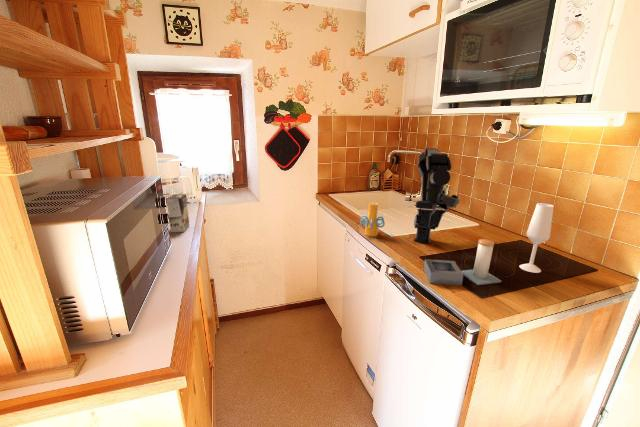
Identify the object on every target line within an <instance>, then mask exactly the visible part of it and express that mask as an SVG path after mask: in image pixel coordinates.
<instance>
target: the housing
mask: <svg viewBox="0 0 640 427" xmlns="http://www.w3.org/2000/svg"><path fill="white" fill-rule="evenodd" d="M423 270H424V274H425V275H426V278H427V281H428V283H429V284H435V285H445V286H446V285H447V286H459V287H462V285H463V279H464V275H463V273H462V272H461V271H462V270H461V269H460V267H459V265H457V262H456V261H455V260H443V259H430V258H429V259H428V258H427V259H426V258H425V259H424V265H423Z"/></svg>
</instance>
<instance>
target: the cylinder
mask: <svg viewBox="0 0 640 427" xmlns="http://www.w3.org/2000/svg"><path fill="white" fill-rule="evenodd" d="M378 208H379V203H378V202H369V203H368V213H367V214H368V215H366V214H363V215H362V216H360V221H359V222H360V226H361V227H363V228H364V227H365V228H364V229H365V230H364V235H365V236H366V237H372V238H373V237H377V236H378V235H379V228H380V229H381V228H384V227H385V225H386V224H385V219H384V217H383V216H382V215H379V216H378V210H379V209H378ZM364 220H366V221H364ZM379 221H381V222H379Z"/></svg>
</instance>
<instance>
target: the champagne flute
mask: <svg viewBox="0 0 640 427" xmlns="http://www.w3.org/2000/svg"><path fill="white" fill-rule="evenodd" d="M554 207H555V206H554V205H553V204H550V203H544V202H542V203H541V202H537V203H536V205H535V208H534V211H533V214H532V217H531V219H530V222H529V225H528V228H527V231H526V236H527V238H528V239H529V240H530V242H532V244H533V245H532V251H531V254H530V259H529V263H523V264H520V265H518V266H519V268H520V269H521V270H523V271H526V272H530V273H536V274H538V273H541V272H542V270H541V269H540V268H539V267H538V266H537V265H536V264H534V263H535V258H536V254H537V250H538V245H541V244H543V243H545V242H547V241H548V240H549V239H550V238H551V231H552V230H551V229H552V222H553V216H554V215H553V214H554Z"/></svg>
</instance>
